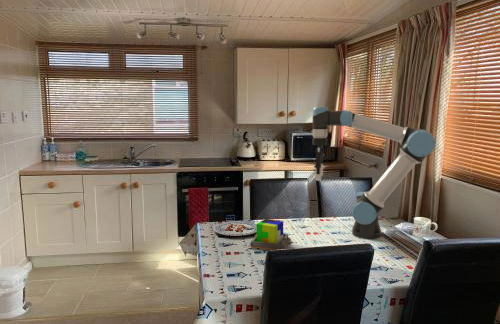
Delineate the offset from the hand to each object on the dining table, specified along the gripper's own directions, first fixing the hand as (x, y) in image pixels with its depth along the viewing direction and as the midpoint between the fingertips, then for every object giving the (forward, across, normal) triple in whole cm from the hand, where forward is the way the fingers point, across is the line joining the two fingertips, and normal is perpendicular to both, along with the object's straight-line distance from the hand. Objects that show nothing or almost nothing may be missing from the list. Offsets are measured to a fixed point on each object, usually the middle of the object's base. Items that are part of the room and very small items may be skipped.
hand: (319, 178), depth 200 cm
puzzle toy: (+31, +16, -23) cm, 42 cm away
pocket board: (+32, +16, -23) cm, 42 cm away
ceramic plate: (+32, 0, -45) cm, 55 cm away
